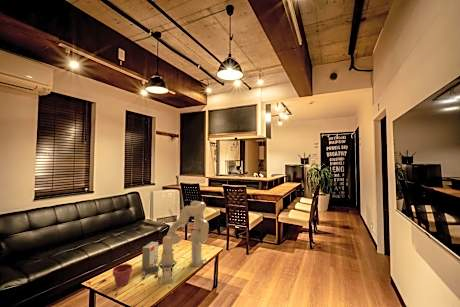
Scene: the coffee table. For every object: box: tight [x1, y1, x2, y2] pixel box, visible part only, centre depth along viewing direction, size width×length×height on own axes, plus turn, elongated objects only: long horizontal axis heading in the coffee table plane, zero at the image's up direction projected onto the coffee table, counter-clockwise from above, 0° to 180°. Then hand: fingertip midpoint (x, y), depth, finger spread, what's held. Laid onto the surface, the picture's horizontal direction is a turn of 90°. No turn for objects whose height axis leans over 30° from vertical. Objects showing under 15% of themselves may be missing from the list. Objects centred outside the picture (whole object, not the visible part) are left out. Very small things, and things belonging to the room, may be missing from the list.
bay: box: [142, 265, 160, 280], centre depth 191 cm, size 11×11×5 cm
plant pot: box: [112, 263, 133, 288], centre depth 178 cm, size 14×14×13 cm
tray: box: [160, 271, 174, 284], centre depth 185 cm, size 10×11×3 cm
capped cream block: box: [164, 265, 171, 278], centre depth 185 cm, size 6×8×8 cm
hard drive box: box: [141, 241, 159, 271], centre depth 207 cm, size 16×8×20 cm, turn 168°
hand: (167, 272), depth 185 cm, fingers closed on capped cream block, 5 cm apart
